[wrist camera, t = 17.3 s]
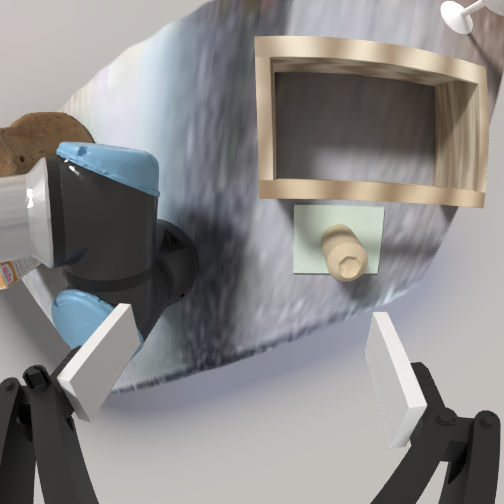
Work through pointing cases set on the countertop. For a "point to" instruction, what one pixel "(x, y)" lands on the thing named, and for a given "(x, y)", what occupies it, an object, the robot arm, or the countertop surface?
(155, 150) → the countertop surface
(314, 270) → the mat
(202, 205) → the countertop surface
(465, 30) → the champagne flute
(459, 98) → the access cubby
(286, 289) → the countertop surface
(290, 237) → the countertop surface
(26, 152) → the block
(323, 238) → the candle
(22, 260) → the coffeecake box
